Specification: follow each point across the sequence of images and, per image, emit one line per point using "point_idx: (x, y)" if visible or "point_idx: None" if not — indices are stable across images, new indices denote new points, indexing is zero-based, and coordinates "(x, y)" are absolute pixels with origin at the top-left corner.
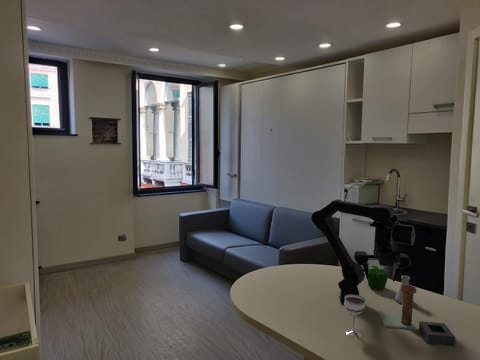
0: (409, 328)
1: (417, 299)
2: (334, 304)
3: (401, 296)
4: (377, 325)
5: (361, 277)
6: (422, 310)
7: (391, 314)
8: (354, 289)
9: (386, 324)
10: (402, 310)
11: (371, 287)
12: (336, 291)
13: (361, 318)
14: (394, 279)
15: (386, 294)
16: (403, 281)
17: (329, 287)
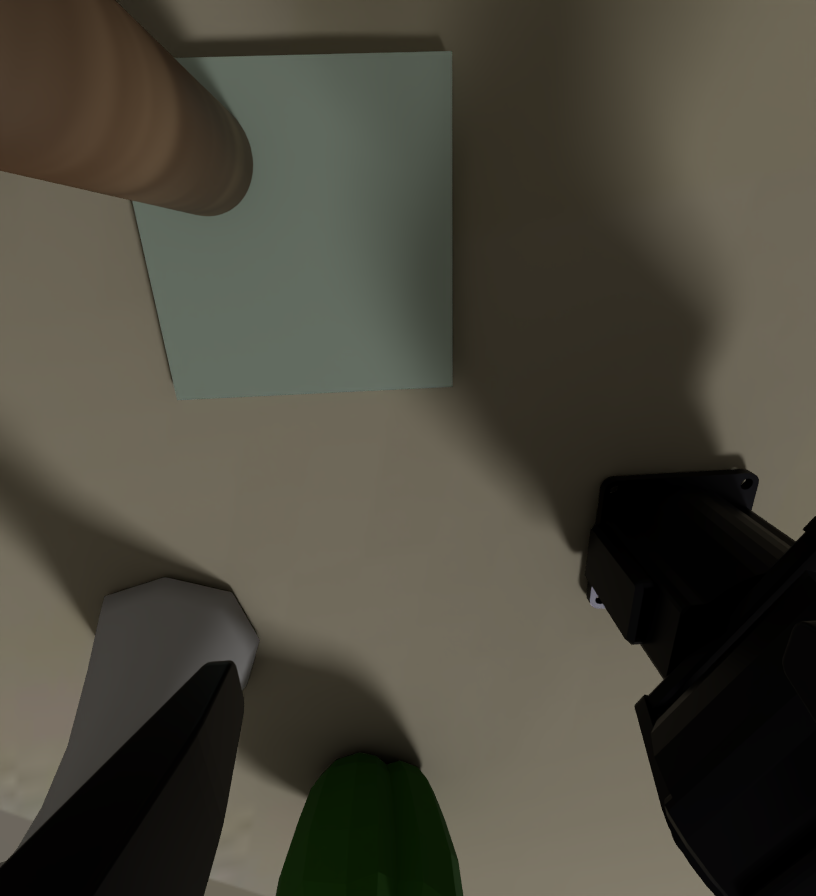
0: None
1: (67, 682)
2: (809, 460)
3: (186, 644)
4: (521, 85)
5: (799, 738)
6: (28, 510)
7: (330, 342)
8: (732, 584)
9: (429, 79)
10: (196, 103)
11: (416, 771)
12: None
13: (648, 223)
14: (185, 700)
15: (311, 707)
16: None
17: None
